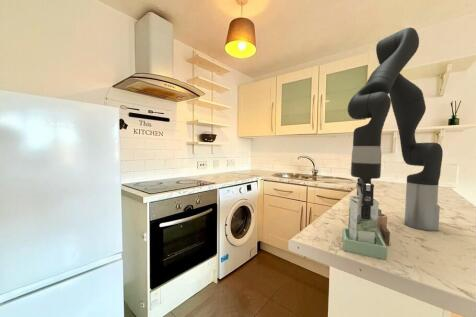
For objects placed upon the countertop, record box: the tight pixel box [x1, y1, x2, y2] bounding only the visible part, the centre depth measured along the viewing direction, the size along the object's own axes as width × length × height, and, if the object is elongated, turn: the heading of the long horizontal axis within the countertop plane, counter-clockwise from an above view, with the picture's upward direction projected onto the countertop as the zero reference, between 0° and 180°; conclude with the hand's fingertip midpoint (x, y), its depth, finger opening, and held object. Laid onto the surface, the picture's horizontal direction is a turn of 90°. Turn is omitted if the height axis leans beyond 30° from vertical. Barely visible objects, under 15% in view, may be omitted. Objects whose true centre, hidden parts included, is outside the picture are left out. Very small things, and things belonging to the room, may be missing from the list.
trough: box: [342, 227, 388, 260], centre depth 61 cm, size 10×10×3 cm
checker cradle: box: [380, 223, 391, 246], centre depth 68 cm, size 11×8×4 cm
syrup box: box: [347, 195, 380, 244], centre depth 60 cm, size 6×6×14 cm
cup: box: [377, 212, 388, 231], centre depth 74 cm, size 6×6×6 cm
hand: (363, 214), depth 60 cm, fingers open, 8 cm apart
